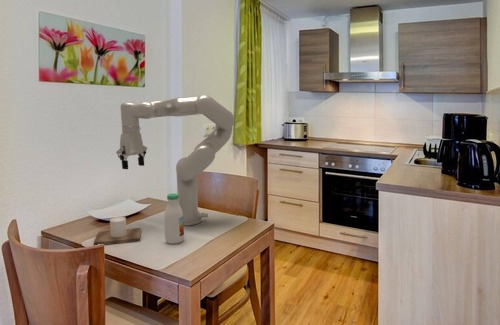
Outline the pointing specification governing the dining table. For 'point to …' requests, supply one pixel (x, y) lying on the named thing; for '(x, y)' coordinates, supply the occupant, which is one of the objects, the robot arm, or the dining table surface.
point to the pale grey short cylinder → (118, 227)
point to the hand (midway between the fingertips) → (133, 167)
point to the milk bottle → (173, 220)
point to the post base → (106, 238)
